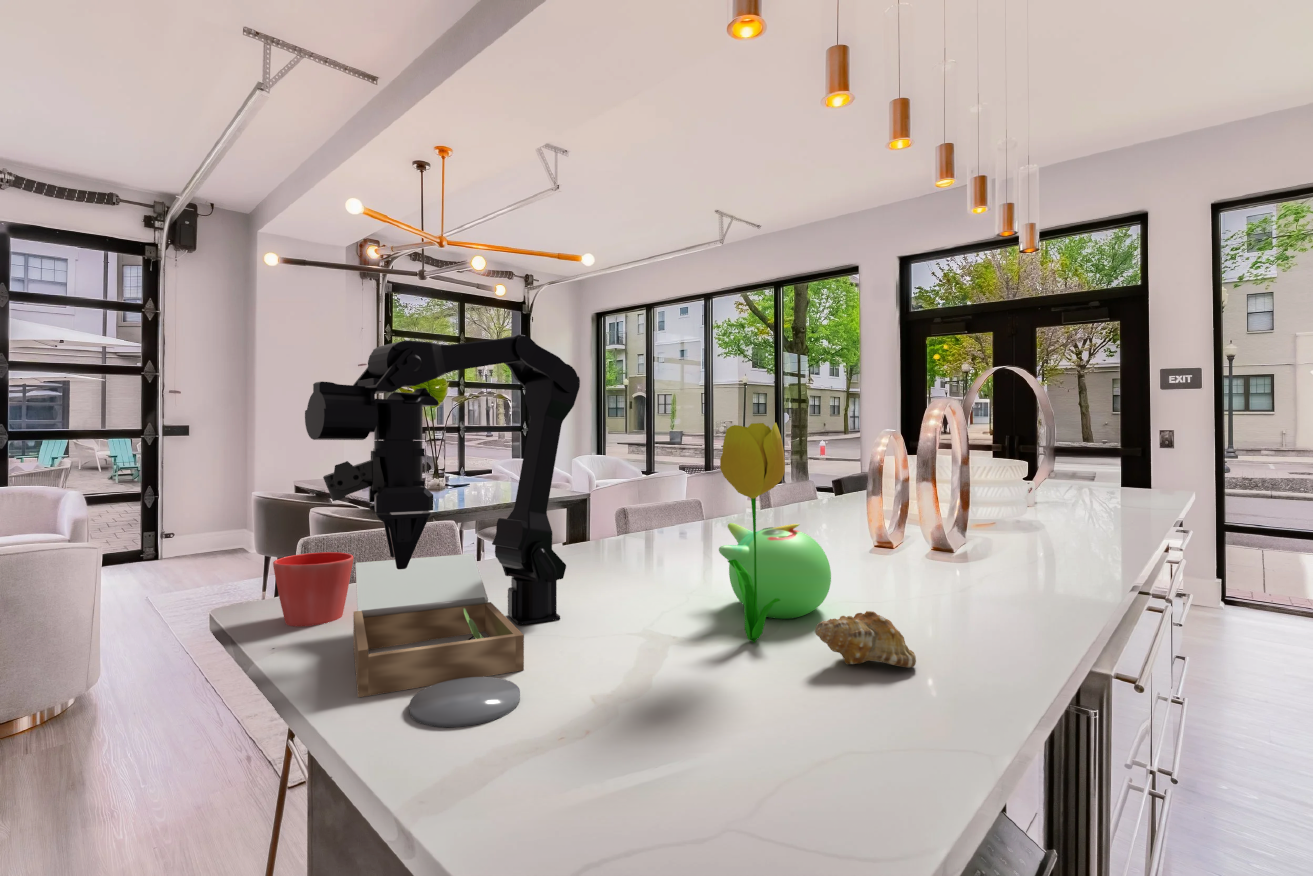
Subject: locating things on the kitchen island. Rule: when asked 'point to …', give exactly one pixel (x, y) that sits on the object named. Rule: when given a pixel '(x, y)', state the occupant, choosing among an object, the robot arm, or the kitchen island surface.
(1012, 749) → the kitchen island surface
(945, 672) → the kitchen island surface
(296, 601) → the flower pot
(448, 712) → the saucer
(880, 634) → the seashell
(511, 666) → the box
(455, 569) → the lid
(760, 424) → the flower
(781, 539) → the round green toy
